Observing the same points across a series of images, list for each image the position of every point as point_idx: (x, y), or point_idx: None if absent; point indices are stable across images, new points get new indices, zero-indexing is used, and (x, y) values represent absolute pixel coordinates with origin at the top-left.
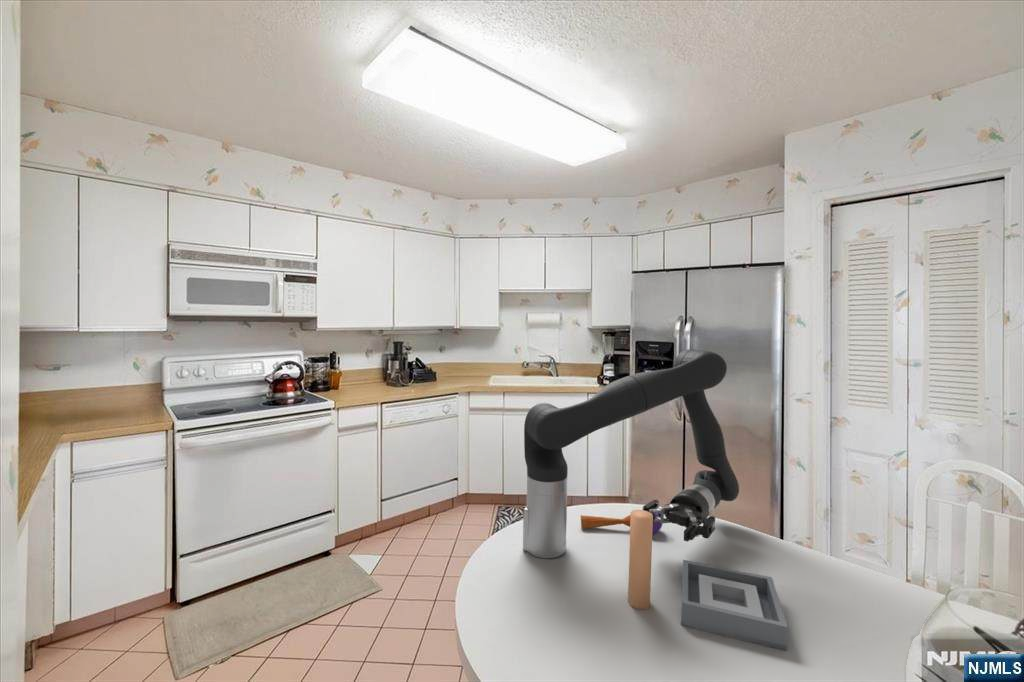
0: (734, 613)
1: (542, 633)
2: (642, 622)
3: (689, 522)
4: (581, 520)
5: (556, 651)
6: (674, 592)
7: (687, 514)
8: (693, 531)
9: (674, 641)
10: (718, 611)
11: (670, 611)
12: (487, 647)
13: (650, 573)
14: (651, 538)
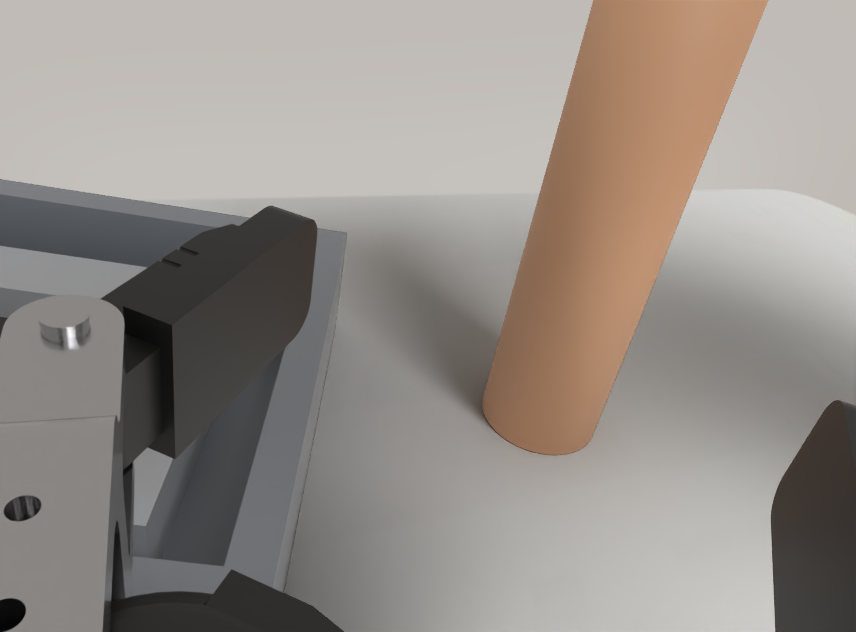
0: (100, 199)
1: (768, 262)
2: (495, 321)
3: (122, 525)
4: None
5: (692, 226)
6: (346, 528)
7: (107, 590)
8: (180, 253)
9: (369, 267)
10: (178, 209)
11: (379, 385)
12: (841, 227)
13: (526, 241)
14: (590, 11)
